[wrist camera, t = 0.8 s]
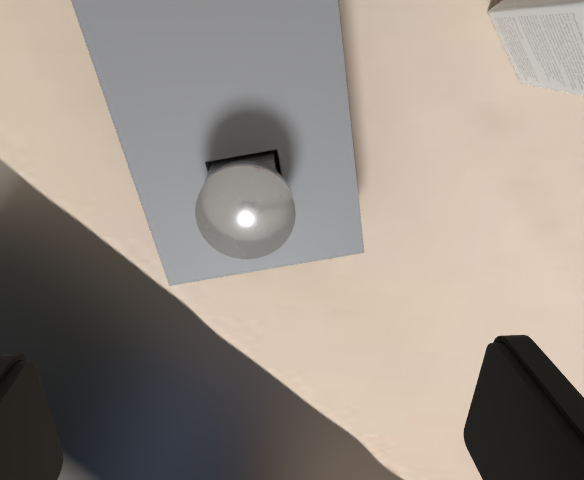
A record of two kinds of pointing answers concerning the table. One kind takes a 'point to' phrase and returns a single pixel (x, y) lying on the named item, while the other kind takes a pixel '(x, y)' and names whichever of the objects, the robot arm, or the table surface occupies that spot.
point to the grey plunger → (245, 206)
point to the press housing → (229, 116)
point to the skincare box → (544, 41)
